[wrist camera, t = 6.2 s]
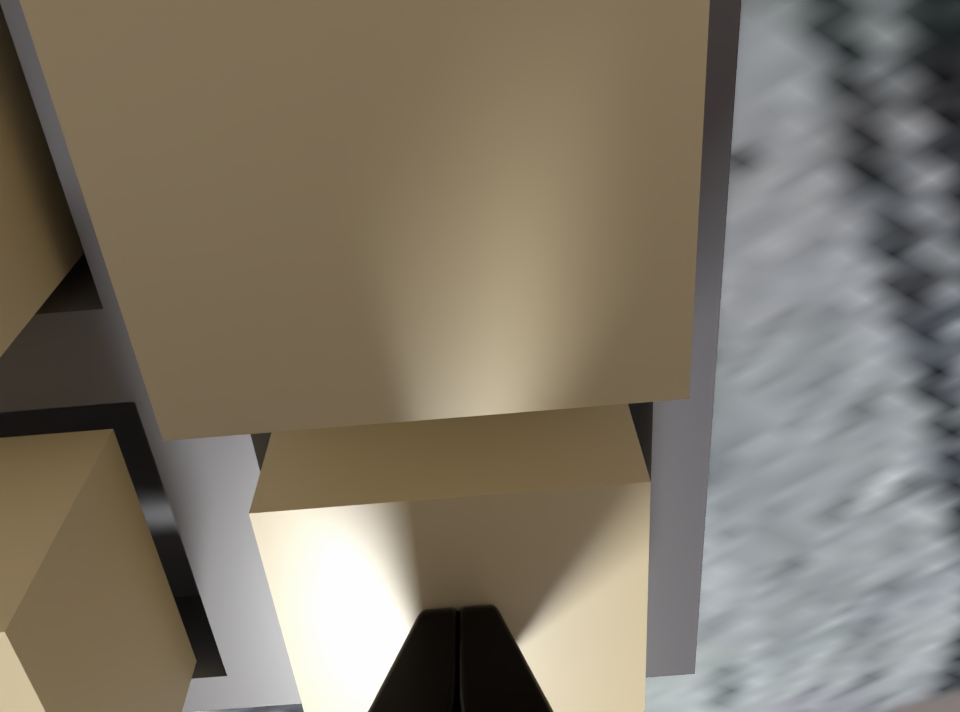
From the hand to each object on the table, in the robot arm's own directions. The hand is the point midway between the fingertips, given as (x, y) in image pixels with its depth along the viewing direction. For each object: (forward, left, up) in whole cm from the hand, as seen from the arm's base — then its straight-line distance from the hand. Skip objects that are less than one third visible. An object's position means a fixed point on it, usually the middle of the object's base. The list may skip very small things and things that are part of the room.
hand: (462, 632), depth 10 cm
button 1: (0, 0, -3) cm, 3 cm away
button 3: (0, +6, -2) cm, 6 cm away
